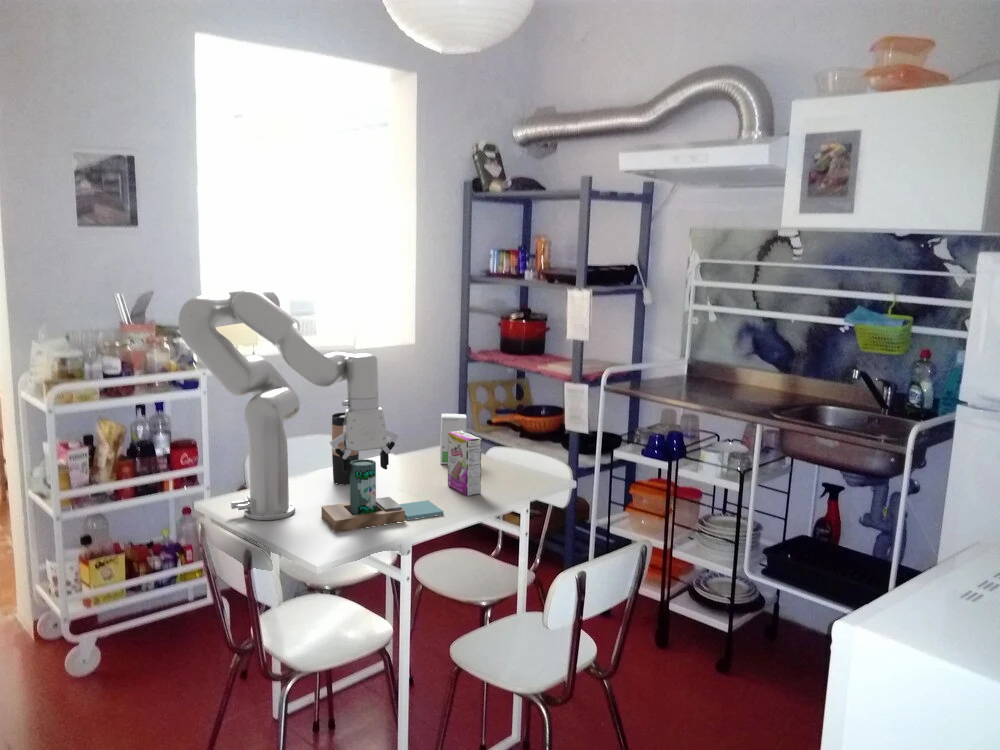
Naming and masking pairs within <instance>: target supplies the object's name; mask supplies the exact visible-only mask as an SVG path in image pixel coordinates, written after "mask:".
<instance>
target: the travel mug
mask: <svg viewBox="0 0 1000 750" xmlns="http://www.w3.org/2000/svg"><path fill="white" fill-rule="evenodd" d="M344 418H345V412H336V413H334V414H332V415H331V441H332V440H334V439H335V438H337V437H338V436H340V435H341V434H343V427H344ZM338 447H339V449H340V450H341V451H342V450H343V448H344V443H343V441H342V442H341V443H339V444H338ZM359 453H360V451H352V452H351V453H350V455H349V456H348V458H349V459H350V462H351V461H354V460H358V459H359V460H360V458H359V456H360V455H359ZM331 455H332V456H331V457H332V458H331V459H332V477H333V483H334V484H335V483H337V484H336V485H339V484H344V485H343V486H347V485H346V484H350V474H349V475H347V474H346V473H344V471H343V470H342V460H341V457H340V456H339V455H338V454H337V453H336V452H335V451H334V450H333V448H332V447H331Z"/></svg>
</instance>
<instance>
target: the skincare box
mask: <svg viewBox="0 0 1000 750" xmlns="http://www.w3.org/2000/svg"><path fill="white" fill-rule="evenodd" d="M440 416H441V419H440V439H439V440H440V447H439V464H440V465H448V432H452V431H461V430H462V431H464V432H466V433H467V420H468V417H467V414H465V413H464V414H462V413H441V415H440Z"/></svg>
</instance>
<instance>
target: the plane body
mask: <svg viewBox="0 0 1000 750" xmlns="http://www.w3.org/2000/svg"><path fill="white" fill-rule="evenodd" d="M399 504H400V503H398V502H396V501H395V500H394V499H393V498H392V497H391V496H386V497H385V496H384V497H379V498H377V497H376V512H373V513H366V514H359V515H352V514H351V513H350V501H349V502H343V503H336V504H329V505H321V506H320V507H321V519H322V520H323V521H324V522H325V523H326V524H327V525H328V526H329V528H330V529H331V530H332V531H333V532H334V533H342V532H349V531H355V530H356V531H357V530H361V528H363V529H367V528H366V527H370V528H373V527H372V526H376V527H379V526H378V525H383V526H385V525H384V524H389V525H391V524H390V523H396V524H398V523H397V522H403V523H405V522H406V519H405V510H404V509H402V507H401V506H400V505H399ZM404 521H405V522H404Z"/></svg>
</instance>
